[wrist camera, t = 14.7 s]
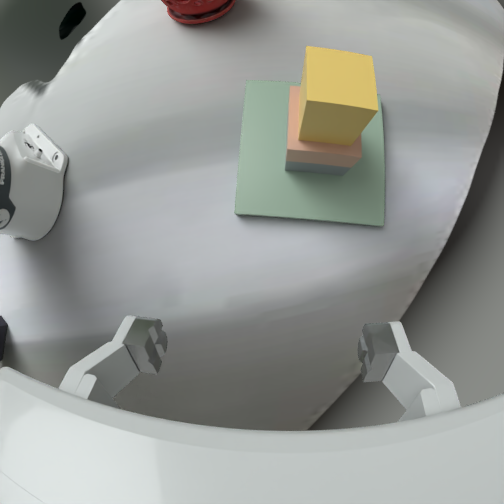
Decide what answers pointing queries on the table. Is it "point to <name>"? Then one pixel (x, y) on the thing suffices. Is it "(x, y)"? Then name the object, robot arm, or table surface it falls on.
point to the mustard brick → (336, 96)
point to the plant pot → (197, 10)
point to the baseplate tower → (305, 164)
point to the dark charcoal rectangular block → (2, 336)
